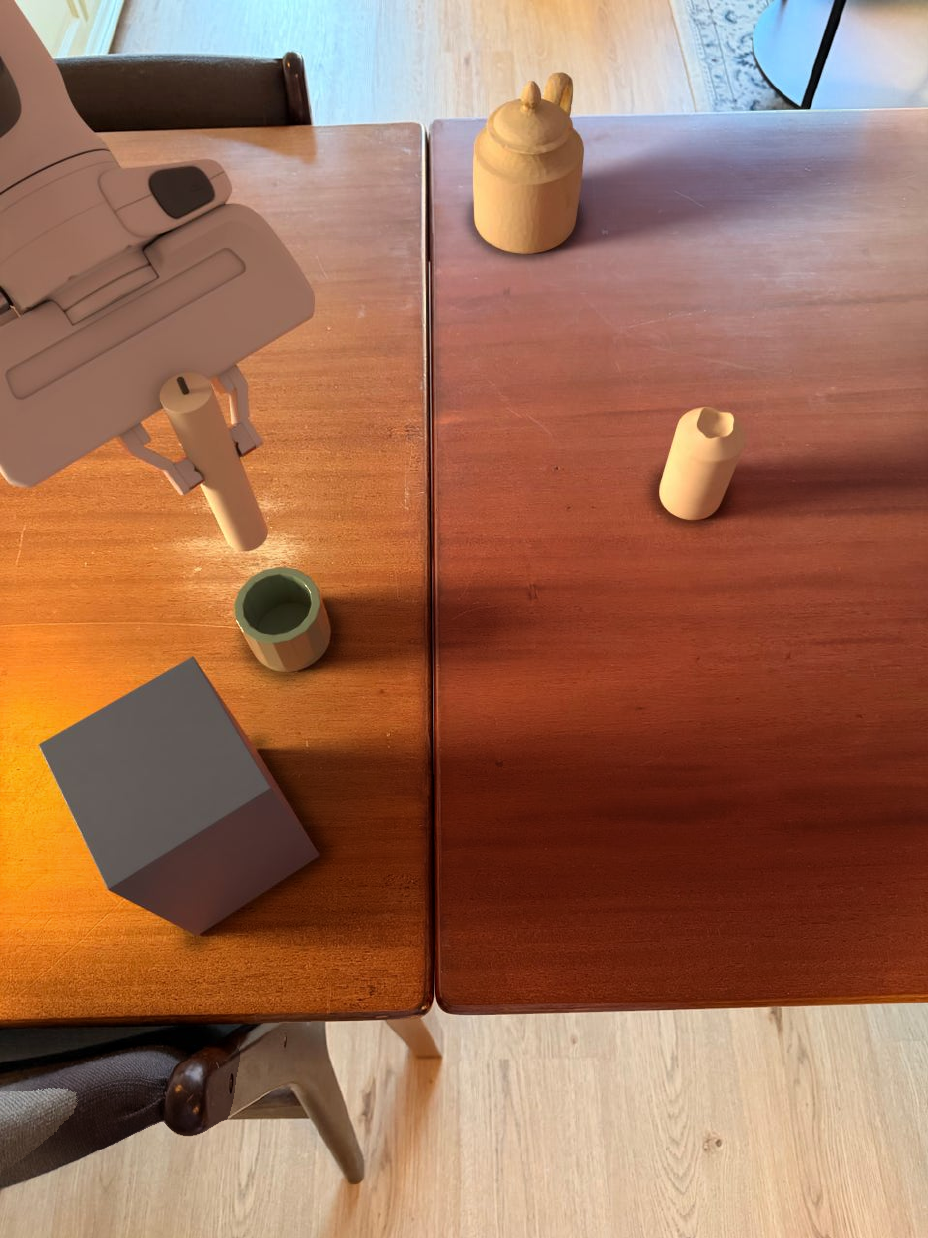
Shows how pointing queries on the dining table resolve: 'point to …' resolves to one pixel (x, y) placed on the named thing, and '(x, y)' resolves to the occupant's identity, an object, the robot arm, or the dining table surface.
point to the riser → (177, 801)
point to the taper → (214, 458)
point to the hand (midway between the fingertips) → (222, 469)
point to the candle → (701, 462)
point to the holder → (283, 619)
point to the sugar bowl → (529, 170)
